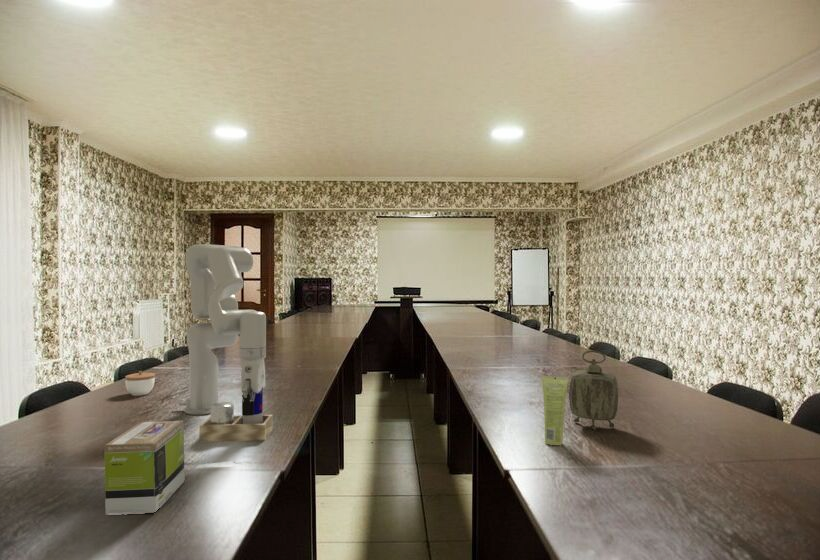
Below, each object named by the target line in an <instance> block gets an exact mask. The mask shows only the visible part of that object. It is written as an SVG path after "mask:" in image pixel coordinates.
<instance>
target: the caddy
mask: <svg viewBox="0 0 820 560" xmlns="http://www.w3.org/2000/svg"><path fill="white" fill-rule="evenodd" d="M273 418H274V417H273V414H263V419H262V424H243V415H242V414H238V415H237V414H236V415H235V414H234V423H233V424H218V425H211V416H209V417H208V418H207V419H206V420H204V421H203V422H202V423H201V424H199V426H198V429H199V433H198V434H199V435H198V436H199V443H201V442H202V443H205V442H241V441H243V442H245V441H250V442H251V441H266V440H267V438H268V437H269V435H270V434H271V432H272V431H273V429H274V428H273V426H274V425H273Z"/></svg>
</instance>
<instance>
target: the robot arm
mask: <svg viewBox="0 0 820 560" xmlns="http://www.w3.org/2000/svg"><path fill="white" fill-rule="evenodd" d="M185 252H186V254H185V265H186V269H187V272H188V275H189V278H190V303H191V304H190V305H191V306H190V309H191V314H192V316H193V317H194V318H195V319H200V320H201V319H202V320H207V319H208V320H210V321H209V322H208V321H207V322H198V323H194V324H192V325H190V326H189V327H188V329H187V330H186V342H187V348H188V354H189V355H188V357H189V358H188V359H189V360H188V361H189V375H188V376H189V378H188V379H189V380H188V382H189V387H188V389H189V390H188V391H189V392H188V393H189V395H188V396H189V397H188V398H179V399H178V401H177V404H178V406H186V407H185V408H184V413H185V414H187V415H194V416H195V415H208V414H211V405H213V404H216V403H219V360H218V357H217V356H216V354H215V353H213V351H212V349H217V348H228V347H233V346H235V345H236V344H237V342H238V340H239V344H238V345H239V349H238V350H239V355H238V357H239V359H240V360H242V361H241V377H240V379H241V380H240V381H241V382H240V386H241V387H240V389H241V393H242V394H241V397H242V398H241V415H243V416H248V415H253V414H254V401H253V396H254V392H256V393H259V392H260V391H261V389H262V387H263V389H264V388H265V387H266V366H265V363H266V362H265V359H266V358H267V316H266V313H265V312H262V311H257V310H255V309H239V303H238V299H237V296H236V294H237V293H238V292H240V291H241V290H242V289H243V287H244V280H243V276H242V273H248V272H250V271H251V270H252V269H253V265H254V257H253V254H252V252H250V250H249V249H248V248H245V247H242V246H236V245H222V244H221V245H220V244H209V243H208V244H205V243H200V244H199V243H197V244H193V245H190V246H189V247H188V248H187V250H186V251H185ZM250 384H251V385H250ZM248 390H252V391H248ZM249 394H251V396H250V395H249Z"/></svg>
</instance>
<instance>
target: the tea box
mask: <svg viewBox="0 0 820 560" xmlns="http://www.w3.org/2000/svg"><path fill="white" fill-rule="evenodd" d="M184 435H185V434H184V420H165V421H164V420H162V421H161V420H160V421H140V422H138V423H137V424H135V425H133V426H132V427H131V428H129V429H127V430H126V431H125V432H122V434H121V433H120V435H118V436H116V437H115V438H114V439H112V440H110V441H109V442H107V443H106V444H104V489H105V490H104V493H105V494H104V495H105V499H104V501H105V504H104V505H105V506H104V507H105V515H106V514H109V513H123V512H125V513H126V512H156V511H157V510H158V509H159V508H162V506H163V505H164V504H165V503H166V502H167V501H168V500H170V498H171V496H173V495H174V493H176V491H178V489H180V487H181V486H182V484H183V483H184V482H185V479H186V478H185V477H186V475H185V473H186V472H185V439H184V438H185V436H184ZM159 510H160V509H159ZM159 510H158V511H159ZM158 511H157V512H158ZM157 512H156V513H157Z"/></svg>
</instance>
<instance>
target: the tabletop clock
mask: <svg viewBox="0 0 820 560" xmlns="http://www.w3.org/2000/svg"><path fill="white" fill-rule="evenodd" d="M589 353H597V354H600V355H602V356H603V359H602V360H600V361H596V359H595V358H592V360H588V359H586V358H584V357H585V355H586V354H589ZM581 359H582V360H583V361H584V362H585V363H588V365H586V367H585V369H579V370H576V371H574V372H573V374H572V377H571V379H570V382H569V390H568V399H569V400H568V402H569V409H570V411H571V414H572V415H573V416H576V418H574V419H573V422H574V423H575V422H579V423H580V418H581V419H587V420H591V425H590V429H591V430H592V429H595V430H597V426H596V425H595V421H607V422H608V427H609V428H611V427H613V428H614V427H615V423H614V422H612V421H611V420H615V418H616V415H617V411H618V406H619V386H618V380H617V377H616V375H615V374H614V373H611V372H608V371H603V369H602V367H601V366H600V365H599V364H602V363H604V362H605V361H606V355H605V354H604V353H603V352H601V351H599V350H595V349H592V350H591V349H590V350H589V349H588V350H586V351H584V352H583V353H582V356H581Z"/></svg>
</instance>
